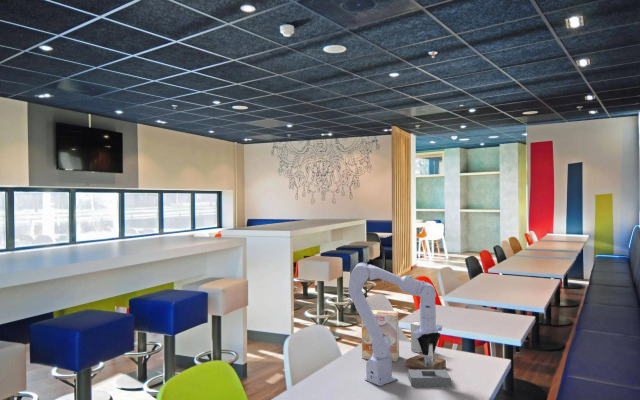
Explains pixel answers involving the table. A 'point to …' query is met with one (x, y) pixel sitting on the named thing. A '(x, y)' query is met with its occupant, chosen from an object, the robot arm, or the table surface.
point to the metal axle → (429, 357)
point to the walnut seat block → (418, 363)
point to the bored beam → (429, 378)
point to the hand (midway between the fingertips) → (428, 353)
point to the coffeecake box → (390, 328)
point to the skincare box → (414, 342)
